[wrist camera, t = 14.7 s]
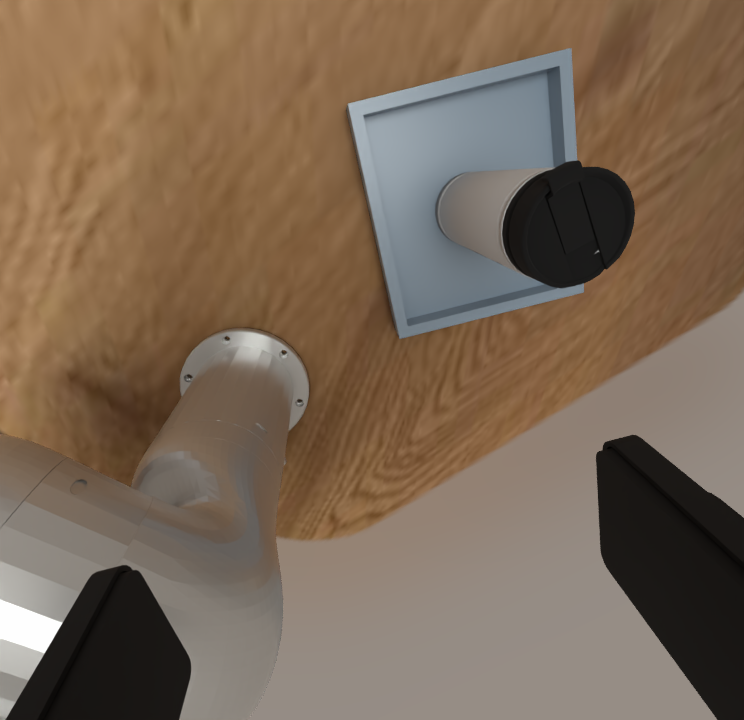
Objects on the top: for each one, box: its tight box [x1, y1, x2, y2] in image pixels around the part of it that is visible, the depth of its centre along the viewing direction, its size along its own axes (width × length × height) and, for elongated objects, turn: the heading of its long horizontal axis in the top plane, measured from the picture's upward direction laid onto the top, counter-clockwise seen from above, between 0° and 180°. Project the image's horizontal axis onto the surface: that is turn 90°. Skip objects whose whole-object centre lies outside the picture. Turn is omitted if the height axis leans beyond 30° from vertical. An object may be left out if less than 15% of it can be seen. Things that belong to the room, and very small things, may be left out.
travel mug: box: [435, 161, 635, 289], centre depth 32 cm, size 6×7×20 cm
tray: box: [346, 48, 584, 339], centre depth 41 cm, size 20×18×3 cm
